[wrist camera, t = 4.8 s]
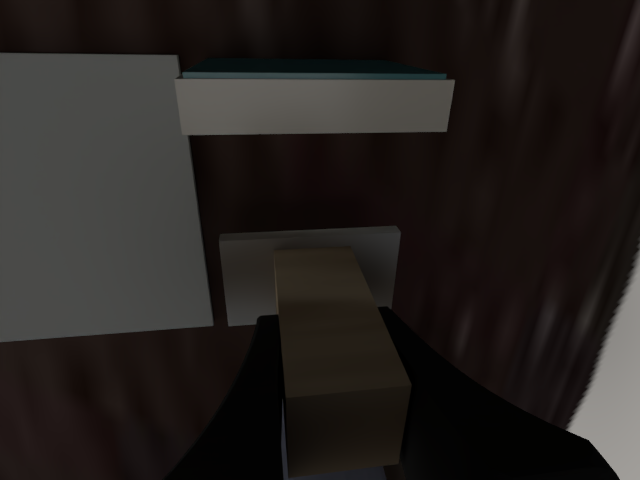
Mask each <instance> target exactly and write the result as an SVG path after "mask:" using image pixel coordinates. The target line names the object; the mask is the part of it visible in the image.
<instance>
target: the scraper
mask: <svg viewBox="0 0 640 480" xmlns="http://www.w3.org/2000/svg"><path fill="white" fill-rule="evenodd" d="M400 235H401V232H400V230H399V229H398V228H397V226H382V227H360V228H339V229H317V230H296V231H275V232H253V233H232V234H220V238H219V247H220V256H221V265H222V273H223V282H224V291H225V300H226V309H227V318H228V326H238V325H251V324H256V322H257V318H258V317H259V316H262V315H275V314H278V316H279V326H280V341H281V369H282V396H283V412H284V426H285V440H286V454H287V467H288V478H294V477H301V476H309V475H317V474H324V473H332V472H340V471H347V470H355V469H363V468H370V467H378V466H386V465H393V464H398V462H399V456H400V450H401V444H402V439H403V433H404V427H405V421H406V416H407V410H408V404H409V398H410V393H411V387H412V384H411V382H410V380H409V378H408V375H407V373H406V371H405V368H404V366H403V364H402V362H401V359H400V357H399V355H398V353H397V350H396V348H395V346H394V344H393V341H392V339H391V337H390V335H389V332H388V330H387V328H386V325H385V323H384V321H383V319H382V316H381V314H380V312H379V310H378V307H383V306H388V307H389V308H390V309H391V307H392V299H393V291H394V283H395V275H396V267H397V259H398V251H399V243H400Z"/></svg>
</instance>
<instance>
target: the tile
mask: <svg viewBox="0 0 640 480" xmlns="http://www.w3.org/2000/svg"><path fill="white" fill-rule="evenodd" d="M174 81H175V88H176V95H177V102H178V109H179V116H180V123H181V131H182V135H229V134H304V133H378V132H447V125H448V119H449V113H450V107H451V101H452V95H453V89H454V83H455V80H452V79H448V78H446V74H444V73H439V72H435V71H430V70H426V69H422V68H417V67H413V66H408V65H404V64H399V63H395V62H391V61H386V60H337V59H251V58H207V59H205V60H204V61H202V62H200V63H198V64H196V65H195V66H193V67H191V68H189V69H187V70H186V71H184V72H182V75H180V76H178V77H177V78H175V79H174Z"/></svg>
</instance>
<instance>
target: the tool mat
mask: <svg viewBox="0 0 640 480" xmlns="http://www.w3.org/2000/svg"><path fill="white" fill-rule="evenodd" d="M180 75H181V70H180V63H179V55H150V54H69V53H0V342H7V341H20V340H33V339H46V338H59V337H72V336H85V335H98V334H111V333H124V332H137V331H150V330H163V329H177V328H190V327H203V326H213V325H214V317H213V310H212V303H211V295H210V288H209V280H208V273H207V265H206V258H205V250H204V243H203V235H202V228H201V220H200V213H199V205H198V198H197V190H196V183H195V175H194V168H193V160H192V153H191V145H190V138H189V135H182V131H181V123H180V116H179V109H178V102H177V95H176V88H175V81H174V79H175V78H177V77H178V76H180Z"/></svg>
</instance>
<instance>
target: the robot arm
mask: <svg viewBox="0 0 640 480" xmlns="http://www.w3.org/2000/svg"><path fill="white" fill-rule="evenodd" d="M378 310H379V312H380V314H381V316H382V319H383V321H384V323H385V325H386V328H387V330H388V332H389V335H390V337H391V339H392V341H393V344H394V346H395V348H396V350H397V353H398V355H399V357H400V359H401V362H402V364H403V366H404V368H405V371H406V373H407V375H408V378H409V380H410V382H411V384H412V387H411V393H410V398H409V404H408V410H407V416H406V421H405V427H404V433H403V439H402V444H401V450H400V459H401V462H402V466H403V470H404V473H405V477H406V480H620V479H619V477H618V476H617V474H616V473H615V472H614V470H613V469H612V468H611V467H610V465H609V464H608V463H607V462H606V460H605V459H604V458H603V457H602V455H601V454H600V453H599V452H598V451H597V449H596V448H595V447H594V446H593V445H592V444H591V443H590V441H589V440H587V439H584V438H582V437H580V436H577V435H575V434H573V433H570V432H568V431H566V430H564V429H561V428H559V427H557V426H554V425H552V424H550V423H548V422H546V421H544V420H542V419H540V418H538V417H536V416H534V415H532V414H530V413H528V412H526V411H524V410H522V409H520V408H518V407H516V406H515V405H513V404H511V403H509V402H507V401H506V400H504V399H502V398H501V397H499V396H497V395H496V394H494V393H492V392H490V391H489V390H487V389H486V388H484V387H483V386H481V385H480V384H478V383H477V382H475V381H474V380H472V379H471V378H469V377H468V376H466V375H465V374H464V373H462V372H461V371H459V370H458V369H457V368H455V367H454V366H453V365H451V364H450V363H449V362H448V361H447V360H445V359H444V358H443V357H442V356H440V355H439V354H438V353H437V352H436V351H434V350H433V349H432V348H431V347H430V346H429V345H428V344H426V343H425V342H424V341H423V340H422V339H421V338H420V337H419V336H418V335H417V334H416V333H414V332H413V331H412V330H411V329H410V328H409V327H408V326H407V325H406V324H405V323H404V322H403V321H402V320H401V319H400V318H399V317H398V316H397V315H396V314H395V313H394V312H393V311H392V310H391V309H390V308H389V307H388V306H383V307H378ZM163 480H387V479H386V476H385V473H384V469H383V466H378V467H370V468H363V469H355V470H347V471H340V472H332V473H324V474H317V475H309V476H301V477H294V478H288V467H287V454H286V440H285V426H284V412H283V396H282V369H281V341H280V326H279V316H278V314H275V315H262V316H259V317H258V318H257V322H256V327H255V331H254V335H253V338H252V341H251V344H250V346H249V349H248V351H247V354H246V356H245V359H244V361H243V363H242V365H241V368H240V370H239V372H238V374H237V376H236V378H235V380H234V382H233V384H232V386H231V387H230V389H229V391H228V393H227V395H226V396H225V398H224V400H223V401H222V403H221V405H220V406H219V408H218V409H217V411H216V412H215V414H214V415H213V417H212V418H211V420H210V421H209V423H208V424H207V426H206V427H205V429H204V430H203V431H202V433H201V434H200V435H199V437H198V438H197V439H196V441H195V442H194V443H193V444H192V446H191V447H190V448H189V449H188V451H187V452H186V453H185V454H184V456H183V457H182V458H181V459H180V461H179V462H178V463H177V464H176V465H175V466H174V468H173V469H172V470H171V471H170V472H169V473H168V474H167V475H166V476H165V477H164V478H163Z"/></svg>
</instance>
